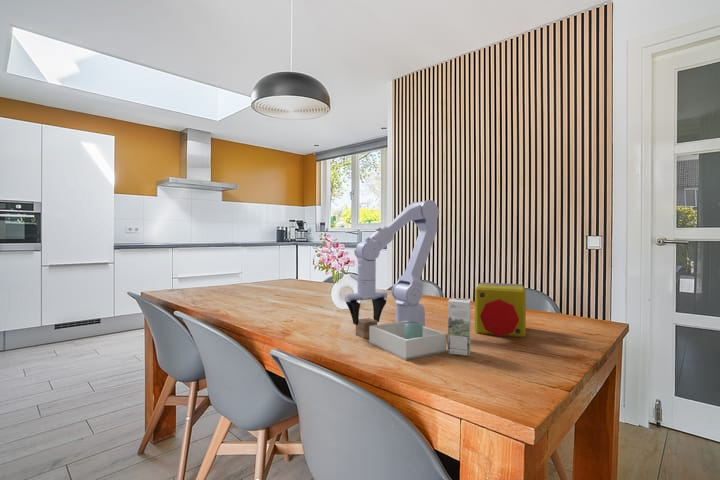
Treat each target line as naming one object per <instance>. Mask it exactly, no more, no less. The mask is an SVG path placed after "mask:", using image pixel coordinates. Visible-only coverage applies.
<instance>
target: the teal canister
mask: <svg viewBox="0 0 720 480" xmlns="http://www.w3.org/2000/svg"><path fill="white" fill-rule="evenodd" d="M418 337H423V324H422V323H420V322H405V323H404V339H412V338H418Z"/></svg>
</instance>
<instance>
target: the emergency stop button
mask: <svg viewBox="0 0 720 480" xmlns="http://www.w3.org/2000/svg"><path fill="white" fill-rule="evenodd" d="M474 292H475V294H474V295H475V296H474V297H475V299H474V303H475V305H474V308H475V309H474V314H475V315H474V319H475V320H474V331H475V333H477V334H483V335H494V336H497V337H502V336H503V337H514V338H524V337H526V325H527V324H526V317H527V315H526V313H527V312H526V311H527V310H526V306H527V305H526V302H527V298H526V297H527V293H526V292H527V291H526V289H525V286H524V285H523V284H521V283H503V282H502V283H500V282H499V283H498V282H496V283H495V282H479V283H478V284H477V286H476V287H475V291H474Z"/></svg>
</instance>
